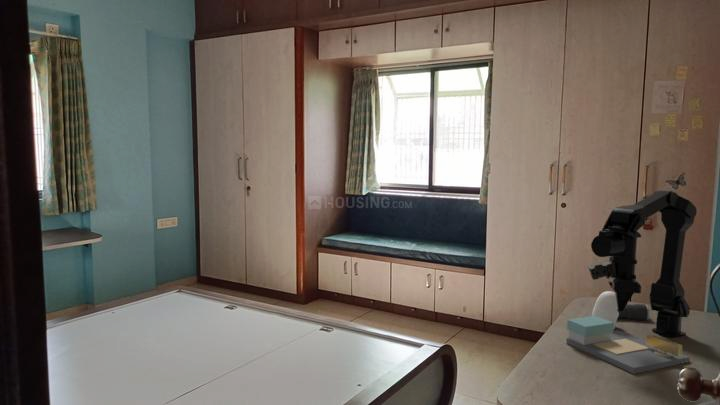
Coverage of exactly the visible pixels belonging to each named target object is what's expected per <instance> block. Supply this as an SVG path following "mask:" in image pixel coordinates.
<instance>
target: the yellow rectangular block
mask: <svg viewBox="0 0 720 405" xmlns="http://www.w3.org/2000/svg"><path fill="white" fill-rule="evenodd" d="M646 341H647V342H646V345H649V346H651V347H654V348H657V349H659V353H661V354H667V353H670V354H672V355H675V356H677V357H679V356H682V354H683V344H680V343H677V342H674V341H671V340H668V339H666V338H663V337H660V336H658V335H655V334H653V333H648V334H646Z"/></svg>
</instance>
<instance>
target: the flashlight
mask: <svg viewBox="0 0 720 405" xmlns="http://www.w3.org/2000/svg"><path fill="white" fill-rule="evenodd" d="M617 311H618V312H619V316H618V318H617V319H627V320H635V321H636V320H637V321H649V320H650V309H649V306H648V304H642V303H641V304H640V303H635V304H629V303H627V305H626V306H625V308H624V310H623V311H619V310H618V309H617Z"/></svg>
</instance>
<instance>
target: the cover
mask: <svg viewBox="0 0 720 405" xmlns="http://www.w3.org/2000/svg"><path fill="white" fill-rule="evenodd" d="M566 326H567V327H566V330H568V331H569V330H570V331H572V332H575V333H577V334H580V335H582V336H584V337H587V336H594V335H600V334H606V333H613V331H615V329H614V323H613V322H611V321H608V320H605V319H602V318H600V317H597V316H592V315H590V316H585V317H578V318H569V319H567V324H566Z"/></svg>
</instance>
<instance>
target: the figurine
mask: <svg viewBox="0 0 720 405" xmlns="http://www.w3.org/2000/svg"><path fill="white" fill-rule="evenodd" d="M617 309H618V307H617V301H616V296H615V291H610V290H608V291H607V290H606V291H604V292H601V294H600V295H599V296H598V297H597V299H596V301H595V304H594V307H593V309H592V313H591V316H597V317H600V318H602V319H605V320H608V321H611V322H613V323H614V330H615V329H616V326H617V321H618V319H619V318H618V316H619V312H618V311H617Z"/></svg>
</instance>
